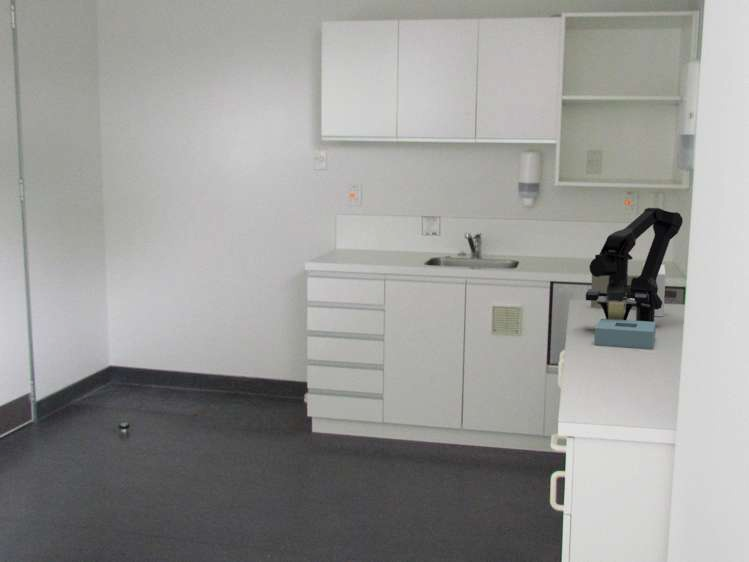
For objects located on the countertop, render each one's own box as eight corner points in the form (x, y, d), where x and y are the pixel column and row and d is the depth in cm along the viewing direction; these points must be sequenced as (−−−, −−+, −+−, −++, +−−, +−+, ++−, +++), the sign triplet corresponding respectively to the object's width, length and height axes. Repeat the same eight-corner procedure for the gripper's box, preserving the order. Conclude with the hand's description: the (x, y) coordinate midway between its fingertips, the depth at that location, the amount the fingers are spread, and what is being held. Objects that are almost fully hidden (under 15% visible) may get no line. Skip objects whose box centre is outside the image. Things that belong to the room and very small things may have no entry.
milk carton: (663, 317, 272) (666, 262, 269) (642, 316, 273) (644, 262, 271) (660, 313, 279) (662, 260, 276) (639, 312, 280) (641, 260, 278)
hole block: (600, 334, 243) (601, 318, 243) (655, 338, 237) (655, 321, 237) (594, 344, 229) (595, 328, 228) (652, 349, 223) (653, 331, 222)
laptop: (642, 306, 296) (643, 271, 295) (641, 311, 285) (643, 276, 283) (593, 303, 302) (594, 270, 301) (590, 308, 291) (591, 274, 289)
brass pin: (609, 329, 251) (610, 301, 250) (624, 330, 249) (625, 302, 248) (607, 332, 247) (608, 303, 246) (622, 333, 245) (624, 304, 244)
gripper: (584, 276, 242) (582, 325, 244) (648, 279, 235) (645, 330, 237) (588, 272, 252) (587, 319, 254) (650, 274, 245) (647, 323, 247)
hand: (616, 323), depth 248 cm, fingers closed on brass pin, 5 cm apart
